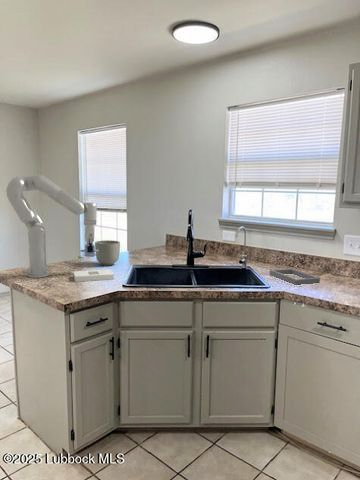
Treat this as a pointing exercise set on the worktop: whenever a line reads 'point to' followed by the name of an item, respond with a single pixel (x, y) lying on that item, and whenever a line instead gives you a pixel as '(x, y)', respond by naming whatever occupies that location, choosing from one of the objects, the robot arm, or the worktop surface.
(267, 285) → the worktop surface
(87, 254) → the servo block
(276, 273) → the frame
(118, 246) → the planter
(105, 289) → the worktop surface
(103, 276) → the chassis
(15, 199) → the robot arm
